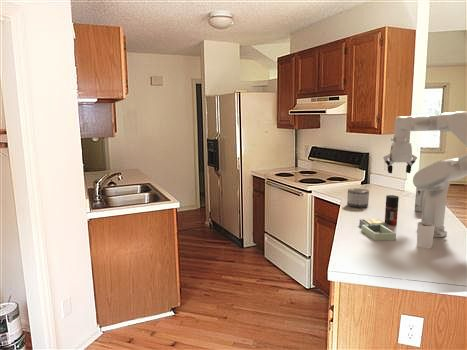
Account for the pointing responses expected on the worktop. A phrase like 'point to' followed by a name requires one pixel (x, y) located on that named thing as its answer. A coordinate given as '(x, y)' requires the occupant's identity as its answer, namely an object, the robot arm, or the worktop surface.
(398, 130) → the robot arm
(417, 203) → the spray can
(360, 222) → the cradle housing
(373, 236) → the trough
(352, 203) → the planter
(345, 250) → the worktop surface
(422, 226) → the white square cup
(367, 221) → the cradle plate
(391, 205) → the deodorant
